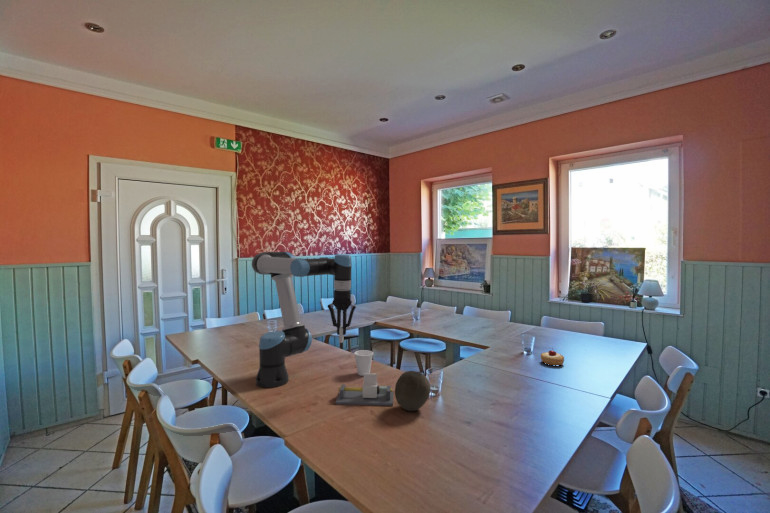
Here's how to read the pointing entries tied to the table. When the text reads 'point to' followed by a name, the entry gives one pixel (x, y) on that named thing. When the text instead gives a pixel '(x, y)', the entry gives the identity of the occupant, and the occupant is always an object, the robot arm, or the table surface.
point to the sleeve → (370, 385)
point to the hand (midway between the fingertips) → (341, 341)
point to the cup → (363, 361)
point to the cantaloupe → (412, 390)
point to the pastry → (552, 358)
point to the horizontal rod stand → (356, 398)
